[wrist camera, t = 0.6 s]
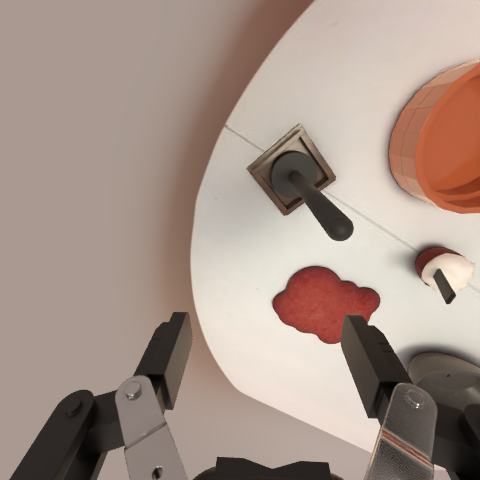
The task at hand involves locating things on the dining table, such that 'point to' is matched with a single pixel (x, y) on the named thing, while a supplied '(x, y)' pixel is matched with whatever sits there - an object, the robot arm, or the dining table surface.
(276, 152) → the small square brown tray
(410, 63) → the dining table surface
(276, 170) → the black plunger
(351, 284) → the patty
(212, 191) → the dining table surface
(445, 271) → the cocoa
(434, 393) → the bowl
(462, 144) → the orange round dish
